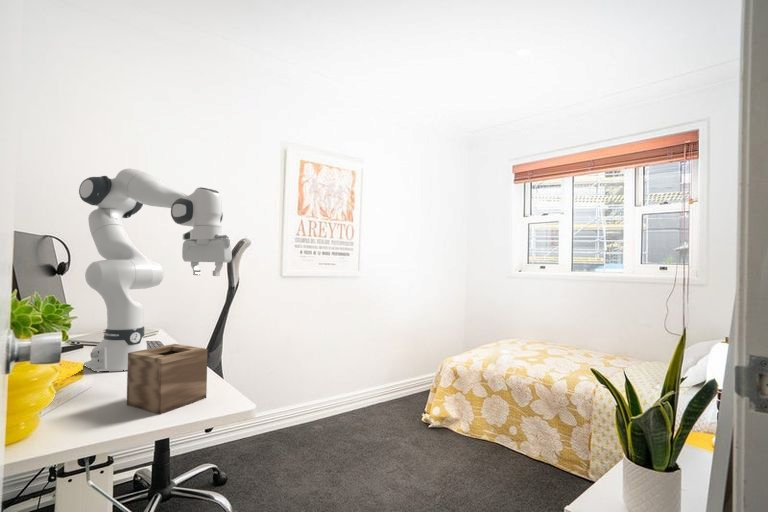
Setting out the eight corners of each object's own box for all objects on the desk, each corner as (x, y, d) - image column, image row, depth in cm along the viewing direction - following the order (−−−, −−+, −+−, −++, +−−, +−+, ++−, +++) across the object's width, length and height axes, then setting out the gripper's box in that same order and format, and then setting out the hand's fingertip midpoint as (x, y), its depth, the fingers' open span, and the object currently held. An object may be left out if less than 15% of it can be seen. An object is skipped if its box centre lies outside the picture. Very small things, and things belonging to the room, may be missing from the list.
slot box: (126, 404, 108) (128, 352, 109) (173, 390, 121) (174, 343, 121) (160, 414, 102) (161, 359, 103) (206, 398, 115) (207, 349, 115)
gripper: (236, 235, 136) (235, 276, 135) (194, 236, 145) (193, 274, 144) (221, 234, 130) (220, 276, 130) (179, 234, 139) (178, 274, 139)
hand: (206, 275), depth 137 cm, fingers open, 8 cm apart
